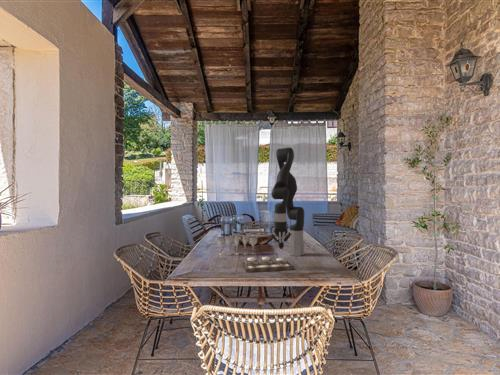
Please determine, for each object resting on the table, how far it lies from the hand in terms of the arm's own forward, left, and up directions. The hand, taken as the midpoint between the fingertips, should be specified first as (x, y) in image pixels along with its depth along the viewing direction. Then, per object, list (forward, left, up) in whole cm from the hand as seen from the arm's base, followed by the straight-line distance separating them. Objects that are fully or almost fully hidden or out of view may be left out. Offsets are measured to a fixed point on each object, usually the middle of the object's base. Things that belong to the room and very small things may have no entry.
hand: (281, 248), depth 230 cm
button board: (+9, +2, -11) cm, 14 cm away
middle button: (+9, 0, -7) cm, 12 cm away
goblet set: (+21, -37, -11) cm, 44 cm away
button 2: (0, 0, -8) cm, 8 cm away
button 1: (+18, 0, -7) cm, 20 cm away
